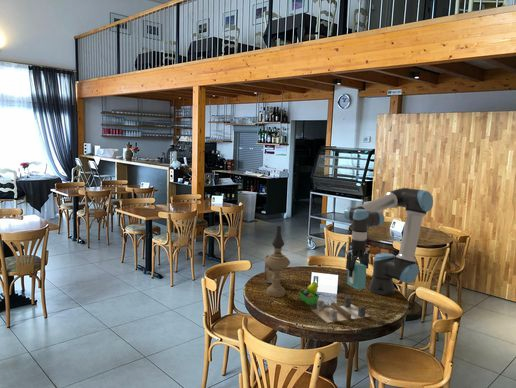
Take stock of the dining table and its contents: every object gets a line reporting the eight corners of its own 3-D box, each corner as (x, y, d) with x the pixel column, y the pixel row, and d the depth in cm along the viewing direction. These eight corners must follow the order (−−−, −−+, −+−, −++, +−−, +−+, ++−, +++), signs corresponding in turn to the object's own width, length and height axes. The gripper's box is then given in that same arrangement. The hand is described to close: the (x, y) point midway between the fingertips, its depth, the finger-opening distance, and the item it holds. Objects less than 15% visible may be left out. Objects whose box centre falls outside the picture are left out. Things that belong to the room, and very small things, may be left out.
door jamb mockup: (352, 305, 226) (353, 295, 225) (370, 317, 211) (371, 306, 210) (311, 310, 216) (311, 300, 215) (327, 323, 201) (327, 313, 201)
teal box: (354, 282, 220) (356, 261, 218) (365, 288, 212) (366, 266, 210) (347, 283, 218) (348, 262, 216) (356, 289, 210) (358, 267, 208)
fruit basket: (297, 299, 232) (298, 279, 230) (311, 297, 235) (312, 278, 233) (307, 306, 221) (308, 286, 220) (321, 305, 224) (322, 285, 223)
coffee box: (280, 281, 260) (281, 256, 258) (277, 284, 254) (279, 259, 252) (266, 279, 263) (267, 255, 261) (263, 282, 257) (264, 257, 255)
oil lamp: (283, 288, 248) (287, 223, 243) (292, 297, 234) (295, 229, 228) (260, 289, 244) (262, 224, 239) (266, 299, 230) (270, 229, 224)
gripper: (369, 236, 218) (366, 278, 221) (340, 238, 212) (337, 281, 215) (378, 239, 211) (374, 282, 214) (348, 241, 205) (345, 286, 208)
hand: (356, 282), depth 215 cm, fingers closed on teal box, 5 cm apart
